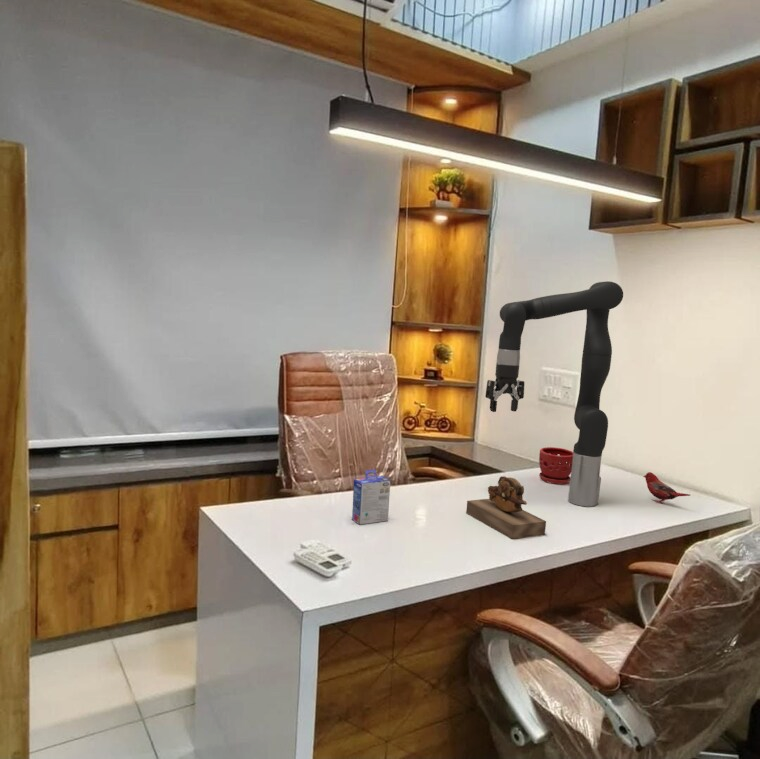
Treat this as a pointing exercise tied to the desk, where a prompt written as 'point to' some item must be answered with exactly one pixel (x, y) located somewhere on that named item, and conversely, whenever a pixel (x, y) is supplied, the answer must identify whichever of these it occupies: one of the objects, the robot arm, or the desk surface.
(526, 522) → the walnut plinth
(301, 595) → the desk surface
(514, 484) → the wooden carving
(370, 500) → the ink cartridge box
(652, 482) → the decorative bird figurine
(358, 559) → the desk surface
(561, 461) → the plant pot
